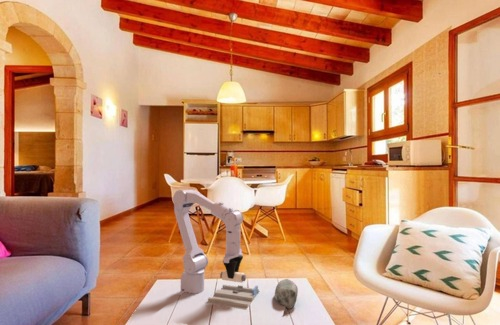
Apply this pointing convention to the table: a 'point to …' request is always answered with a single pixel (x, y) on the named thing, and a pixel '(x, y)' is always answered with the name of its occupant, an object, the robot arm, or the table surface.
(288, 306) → the mottled grey stone
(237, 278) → the cream cylinder
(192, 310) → the table surface
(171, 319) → the table surface
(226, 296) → the beige mounting plate
